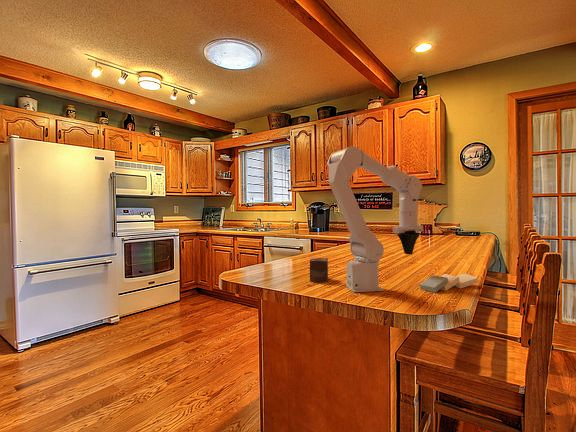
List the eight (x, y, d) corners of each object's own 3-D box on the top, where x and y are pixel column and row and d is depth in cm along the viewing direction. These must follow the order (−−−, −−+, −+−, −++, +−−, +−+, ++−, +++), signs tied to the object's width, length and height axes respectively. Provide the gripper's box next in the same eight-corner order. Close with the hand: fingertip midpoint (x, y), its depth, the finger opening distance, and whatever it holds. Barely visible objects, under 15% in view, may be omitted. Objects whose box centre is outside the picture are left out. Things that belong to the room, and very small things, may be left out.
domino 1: (434, 287, 92) (447, 277, 96) (419, 284, 96) (432, 275, 100) (435, 292, 92) (448, 282, 96) (420, 289, 97) (433, 279, 100)
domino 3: (459, 283, 97) (477, 277, 99) (447, 278, 102) (464, 273, 103) (460, 288, 97) (478, 282, 99) (447, 283, 102) (465, 277, 104)
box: (327, 282, 107) (326, 261, 106) (309, 281, 108) (309, 260, 108) (328, 278, 113) (328, 258, 112) (311, 277, 114) (311, 257, 114)
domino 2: (444, 286, 94) (458, 276, 98) (430, 282, 99) (444, 273, 102) (445, 290, 95) (459, 281, 98) (431, 287, 99) (445, 278, 102)
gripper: (406, 213, 96) (406, 257, 96) (431, 212, 104) (431, 253, 105) (387, 213, 101) (387, 255, 102) (412, 212, 110) (412, 251, 110)
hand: (408, 254), depth 103 cm, fingers closed
